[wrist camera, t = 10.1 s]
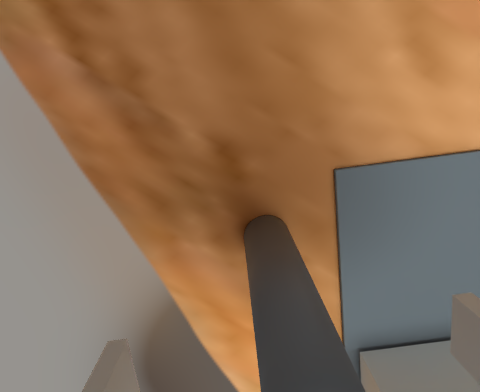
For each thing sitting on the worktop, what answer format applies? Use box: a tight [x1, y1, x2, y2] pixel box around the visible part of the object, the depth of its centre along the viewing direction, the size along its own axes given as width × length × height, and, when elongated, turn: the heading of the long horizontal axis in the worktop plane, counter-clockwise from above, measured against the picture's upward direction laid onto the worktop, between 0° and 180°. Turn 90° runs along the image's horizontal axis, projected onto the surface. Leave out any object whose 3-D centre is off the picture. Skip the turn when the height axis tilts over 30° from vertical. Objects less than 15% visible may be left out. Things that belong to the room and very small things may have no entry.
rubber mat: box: [334, 150, 480, 381], centre depth 26 cm, size 26×13×1 cm, turn 7°
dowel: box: [244, 215, 365, 392], centre depth 17 cm, size 3×3×14 cm
